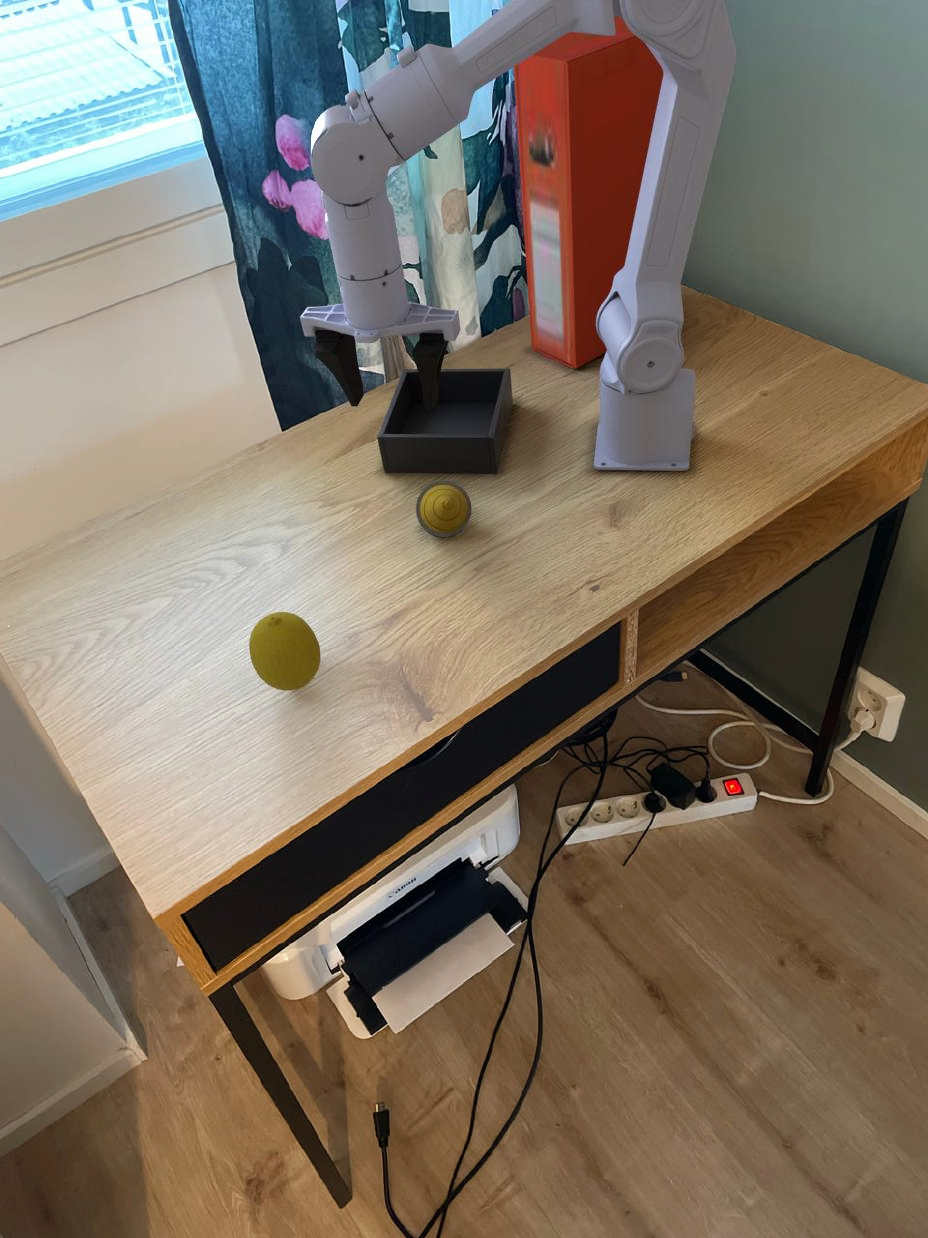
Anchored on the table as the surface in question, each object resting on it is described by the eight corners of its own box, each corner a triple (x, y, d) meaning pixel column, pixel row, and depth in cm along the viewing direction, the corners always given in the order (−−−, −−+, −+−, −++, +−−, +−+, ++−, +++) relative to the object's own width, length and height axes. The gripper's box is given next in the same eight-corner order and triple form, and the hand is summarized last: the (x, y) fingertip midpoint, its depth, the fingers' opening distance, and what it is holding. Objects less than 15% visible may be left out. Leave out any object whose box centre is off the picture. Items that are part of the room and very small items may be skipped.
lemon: (267, 663, 78) (241, 598, 72) (330, 655, 78) (309, 589, 72) (262, 713, 74) (234, 648, 68) (328, 704, 74) (306, 639, 68)
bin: (512, 403, 102) (510, 367, 99) (497, 473, 93) (493, 437, 90) (409, 403, 104) (403, 368, 101) (384, 472, 95) (376, 437, 92)
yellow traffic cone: (479, 511, 90) (489, 500, 80) (443, 550, 90) (448, 544, 80) (440, 474, 90) (445, 459, 80) (404, 513, 89) (404, 503, 80)
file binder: (530, 348, 110) (512, 49, 87) (628, 295, 117) (636, 5, 94) (576, 370, 105) (570, 61, 83) (676, 315, 112) (696, 14, 89)
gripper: (274, 286, 76) (310, 422, 86) (437, 288, 73) (455, 430, 82) (304, 249, 81) (335, 382, 90) (458, 250, 77) (474, 388, 87)
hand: (394, 402), depth 87 cm, fingers open, 7 cm apart
